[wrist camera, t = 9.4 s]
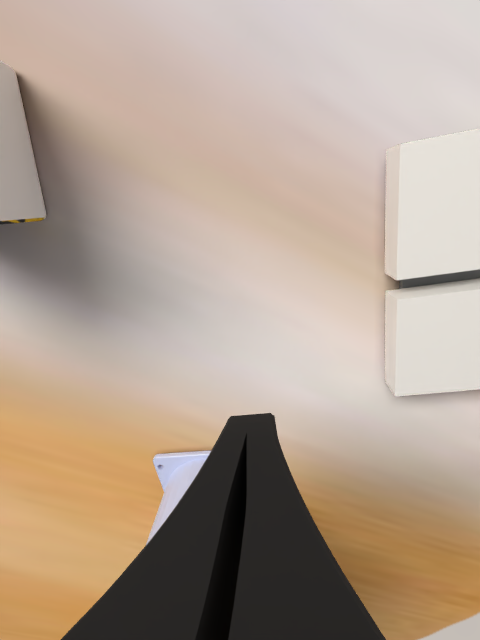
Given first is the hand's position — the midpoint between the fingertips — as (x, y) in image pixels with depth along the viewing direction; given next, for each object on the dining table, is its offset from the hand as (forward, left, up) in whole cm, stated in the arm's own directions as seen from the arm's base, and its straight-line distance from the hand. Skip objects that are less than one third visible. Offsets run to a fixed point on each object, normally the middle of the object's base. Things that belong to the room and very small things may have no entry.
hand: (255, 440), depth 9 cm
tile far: (-2, -7, -9) cm, 11 cm away
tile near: (+5, -7, -9) cm, 12 cm away
